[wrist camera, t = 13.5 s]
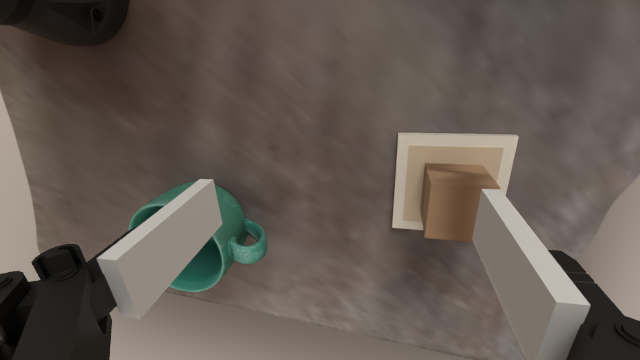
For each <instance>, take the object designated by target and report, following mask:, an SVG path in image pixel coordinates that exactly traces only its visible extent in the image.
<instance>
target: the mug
mask: <svg viewBox="0 0 640 360" xmlns="http://www.w3.org/2000/svg"><path fill="white" fill-rule="evenodd" d="M194 183H196V182H188V183H184V184H181V185H178V186H176V187H174V188H172V189H170V190H169V191H167V192H165V193H163V194H161V195H160V196H158V197H157V198H155V199H154V200H152V201H150V202H149V203H147V204H146V205H144V206H143V207H141V208H140V209H139V210H138V211H137V212H136V213H135V214H134V215H133V217H132V219H131V221H130V224H129V230H130V229H132V228H135V227H137V226H139V225H141V224H142V223H143V222H145V221H146V220H147V219H149V218H150V217H151V216H153V215H154V214H155V213H156V212H158V211H159V210H160V209H162V208H163V207H164V206H166V205H167V204H168V203H169V202H171V201H172V200H173V199H175V198H176V197H177V196H179V195H180V194H181V193H183V192H184V191H185V190H186V189H188V188H189V187H190V186H192V185H193V184H194ZM215 190H216V194H217V199H218V204H219V209H220V214H221V219H222V223H223V224H222V225H221V226H220V227H219V229H218V230H217V231H216V232H215V233H214V234H213V236H212V237H211V238H210V239H209V240H208V241H207V243H206V244H205V245H204V246H203V247H202V248H201V249H200V251H199V252H198V253H197V254H196V255H195V256H194V258H193V259H192V260H191V261H190V262H189V263H188V264H187V266H186V267H185V268H184V269H183V270H182V271H181V273H180V274H179V275H178V276H177V277H176V278H175V279H174V281H173V282H172V283H171V284H170V285H169V286H170V287H172V288H174V289H177V290H181V291H185V292H200V291H205V290H207V289H209V288H211V287H213V286H214V285H215V284H217V283H218V282H219V280H220V279H221V278H222V277H223V276H224V274H225V273H226V272H227V270H228V269H229V268H230V266H231V265H232V264H233V262H234V261H237V262H239V263H242V264H251V263H255V262H257V261H259V260H260V259H261V258H263V256H264V255H265V253H266V251H267V239H266V234H265V232H264V230H263V228H262V227H261V226H260V225H258V224H257V223H255V222H253V221H251V220H249V219H246V217H245V214H244V212H243V210H242V208H241V206H240V204H239V203H238V202H237V200H236V199H235V198H234V197H233V196H232V195H231V194H230V193H228V192H227V191H226V190H224V189H223V188H221V187H219V186H217V185H215ZM247 235H250V236H252V237H253V238H255V239H256V240H257V241H258V242H257V243H255V244H253V245H249V246H244V244H245V241H246V238H247Z"/></svg>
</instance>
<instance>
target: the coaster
mask: <svg viewBox="0 0 640 360" xmlns="http://www.w3.org/2000/svg"><path fill="white" fill-rule="evenodd" d="M518 137H519V136H517V135H508V134H450V133H398V144H397V160H396V175H395V191H394V206H393V221H392V228H402V229H415V230H423V225H422V219H421V213H420V205H421V196H422V186H423V177H424V167H425V163H436V164H462V165H483V166H484V167H485V169H486V170H487V171H488V172H489V174H490V175H491V176H492V178H493V179H494V180H495V181H496V183H497V184H498V185H499V187H500V190H501V191H502V192H503V194H504V195H505V196H506V192H507V187H508V183H509V178H510V174H511V169H512V165H513V160H514V156H515V151H516V146H517V142H518Z"/></svg>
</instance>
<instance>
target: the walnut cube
mask: <svg viewBox="0 0 640 360" xmlns="http://www.w3.org/2000/svg"><path fill="white" fill-rule="evenodd" d="M482 189H499V190H500V187H499V185H498V184H497V183H496V181H495V180H494V179H493V178H492V176H491V175H490V174H489V172H488V171H487V170H486V169H485V167H484V166H483V165H462V164H436V163H425V167H424V177H423V186H422V196H421V205H420V213H421V219H422V225H423V230H424V236H425V238H432V239H444V240H455V241H467V242H473V241H472V238H473V232H474V227H475V222H476V216H477V211H478V206H479V200H480V195H481V190H482Z"/></svg>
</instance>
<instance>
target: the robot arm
mask: <svg viewBox="0 0 640 360" xmlns="http://www.w3.org/2000/svg"><path fill="white" fill-rule="evenodd" d="M127 4H128V0H0V25H10V26H13V27H16V28H19V29H22V30H24V31H27V32H30V33H33V34H36V35H39V36H42V37H44V38H47V39H50V40H53V41H56V42H59V43H62V44H67V45H80V46H92V45H98V44H101V43H104V42H106V41H107V40H109V39H110V38H112V37H113V36H114V35H115V34H116V32H117V31H118V30H119V28H120V26H121V25H122V22H123V20H124V17H125V14H126V10H127ZM222 224H223V223H222V219H221V214H220V209H219V204H218V199H217V194H216V190H215V185H214V180H213V179H199V180H198V181H197V182H196V183H194V184H193V185H192V186H190V187H189V188H188V189H186V190H185V191H184V192H183V193H181V194H180V195H179V196H177V197H176V198H175V199H173V200H172V201H171V202H169V203H168V204H167V205H166V206H164V207H163V208H162V209H160V210H159V211H158V212H156V213H155V214H154V215H153V216H151V217H150V218H149V219H147V220H146V221H145V222H143V223H142V224H141V225H139V226H137V227H135V228H132V229H130V230H129V231H128V232H126V233H125V234H124V235H122V236H121V238H118V239H117V240H116V241H114V242H113V244H111V245H109V246H108V247H107V248H105V249H104V250H103V251H101V252H100V253H99V254H97V255H96V256H95V257H93V258H92V259H91V260H89V261H88V262H87V263H86V260H85V258H84V256H83V254H82V251H81V249H80V247H79V246H78V245H76V244H66V245H61V246H57V247H54V248H52V249H49V250H47V251H45V252H43V253H41V254H40V255H39V256H37V257H36V258H35V259H34V260H33V261H32V265H33V266H34V268H35V270H36V272H37V274H38V276H39V278H40V279H41V280H39V281H32V282H28V281H27V279H26V277H25V276H24V274H23V272H20V271H13V272H8V273H3V274H0V360H109V357H110V342H111V327H112V319H111V316H110V314H109V313H110V312H111V311H112V310H113V309H114V308H115V307H116V306H117V308H118V310H119V312H120V315H121V317H122V318H128V319H136V320H140V319H141V318H142V316H143V315H144V314H145V313H146V312H147V311H148V310H149V308H150V307H151V306H152V305H153V304H154V303H155V301H156V300H157V299H158V298H159V297H160V295H162V293H163V292H164V291H165V290H166V289H167V288H168V286H169V285H170V284H171V283H172V282H173V281H174V279H175V278H176V277H177V276H178V275H179V274H180V273H181V271H182V270H183V269H184V268H185V267H186V266H187V264H188V263H189V262H190V261H191V260H192V259H193V258H194V256H195V255H196V254H197V253H198V252H199V251H200V249H201V248H202V247H203V246H204V245H205V244H206V243H207V241H208V240H209V239H210V238H211V237H212V236H213V234H214V233H215V232H216V231H217V230H218V229H219V227H220V226H221V225H222ZM472 241H473V243H474V245H475V248H476V250H477V252H478V254H479V257H480V259H481V261H482V263H483V266H484V268H485V270H486V272H487V275H488V277H489V279H490V281H491V284H492V286H493V288H494V290H495V293H496V295H497V297H498V299H499V302H500V304H501V306H502V308H503V311H504V313H505V315H506V317H507V320H508V322H509V324H510V326H511V329H512V331H513V333H514V335H515V337H516V340H517V342H518V344H519V346H520V349H521V351H522V353H523V355H524V358H525V360H640V321H638V320H635V319H632V318H629V317H626V316H624V315H623V314H622V312H621V311H620V310H619V309H618V308H617V307H616V306H615V304H614V303H613V302H612V301H611V300H610V299H609V298H608V296H607V295H606V294H605V293H604V292H603V291H602V290H601V288H600V287H599V286H598V285H597V284H595V283H594V280H593V279H592V278H591V277H590V276H589V275H588V274H586V271H585V270H584V269H583V268H582V267H581V266H580V264H579V263H578V262H577V261H576V260H574V259H573V258H571V257H570V256H568V255H567V254H565V253H564V252H562V251H556V250H547V249H546V247H545V246H544V245H543V244H542V242H541V241H540V240H539V238H538V237H537V236H536V235H535V233H534V232H533V231H532V230H531V228H530V227H529V226H528V224H527V223H526V222H525V221H524V219H523V218H522V217H521V215H520V214H519V213H518V212H517V210H516V209H515V208H514V207H513V205H512V204H511V203H510V201H509V200H508V199H507V198H506V196H505V195H504V194H503V192H502V191H501V190H499V189H482V190H481V195H480V200H479V206H478V211H477V216H476V222H475V227H474V232H473V238H472Z"/></svg>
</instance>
